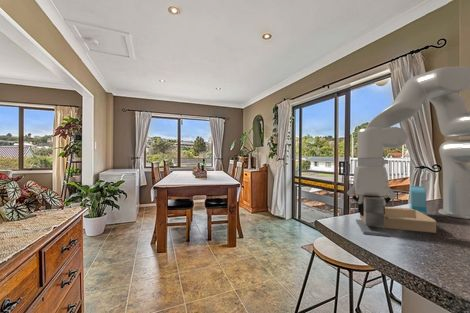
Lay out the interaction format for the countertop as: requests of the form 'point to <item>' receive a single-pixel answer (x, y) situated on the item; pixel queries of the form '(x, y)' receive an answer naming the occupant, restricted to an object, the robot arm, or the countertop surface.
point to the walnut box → (373, 211)
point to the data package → (418, 199)
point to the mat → (372, 229)
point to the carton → (408, 220)
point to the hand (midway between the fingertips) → (370, 214)
